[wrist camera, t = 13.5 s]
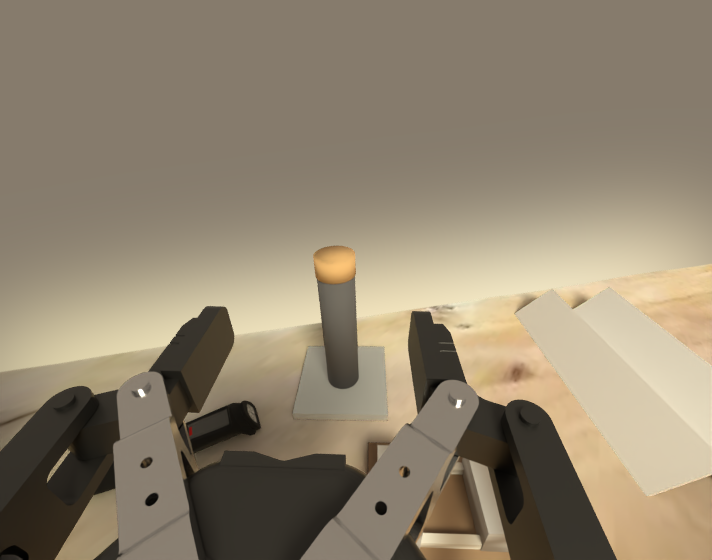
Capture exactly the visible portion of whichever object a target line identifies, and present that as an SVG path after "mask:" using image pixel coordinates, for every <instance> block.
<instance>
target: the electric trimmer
mask: <svg viewBox="0 0 712 560" xmlns="http://www.w3.org/2000/svg"><path fill="white" fill-rule="evenodd" d="M185 424H186V427H187V431H188V435H189V438H190V442H191V446H192V449H193V453H195V452H197V451H200V450H202V449H204V448H207V447H209V446H212V445H214V444H216V443H219V442H221V441H224V440H226V439H228V438H231V437H233V436H235V435H238V434H240V433H243V434H248V435H253V434H255V432H256V430H258V429H260V428H261V426H260V422H259V418H258V415H257V411H256V408H255V406H254V405H253V404H252V403H251V402H248V401H243V402H241V403H232V404H230V405H227V406H225V407H222V408H220V409H218V410H215V411H213V412H211V413H208V414H206V415H204V416H202V417H199V418H197V419H195V420H192V421H190V422H188V423H185ZM115 488H116V486H115V470H114V462H113V463H112V465H111V467H110V468H109V470H108V472H107V473H106V475H105V477H104V478H103V480H102V481H101V483H100V485H99V486H98V488H97V490H96V491H95V493H94V495H96V494H99V493H102V492H105V491H109V490H112V489H115Z"/></svg>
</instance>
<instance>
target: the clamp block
mask: <svg viewBox="0 0 712 560" xmlns="http://www.w3.org/2000/svg"><path fill="white" fill-rule="evenodd" d="M389 445H390V443H368V473H369V472H370V471H371V469H372V468H373V467H374V465H375V464H376V462H377V461H378V460H379V458H380V457H381V456H382V454H383V453H384V452H385V450H386V449H387V447H388V446H389ZM416 544H417V546H418V547H419V549H420V550H421V552H422V553H423V555H424V556H425V558H426V559H427V560H511V559H510V555H509V551H508V547H507V543H506V539H505V535H504V531H503V527H502V523H501V519H500V515H499V511H498V507H497V503H496V499H495V495H494V491H493V487H492V483H491V479H490V475H489V471H488V467H487V466H484V465H482V464H479V463H476V462H474V461H471V460H468V459H465V458H463V457H460V458H459V460H458V462H457V464H456V465H455V467H454V469H453V471H452V473H451V475H450V477H449V479H448V481H447V483H446V484H445V486H444V488H443V490H442V492H441V494H440V496H439V498H438V500H437V502H436V505H435V507H434V509H433V512H432V514H431V516H430V518H429V520H428V522H427V524H426V526H425V528H424V530H423V532H422V533H421V535H420V537H419V539H418V541H417V543H416Z"/></svg>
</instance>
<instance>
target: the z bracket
mask: <svg viewBox="0 0 712 560" xmlns="http://www.w3.org/2000/svg"><path fill="white" fill-rule="evenodd" d="M514 314H515V315H516V317H517V318H518V319H519V321H520V322H521V324H522V325H523V326H524V328H525V329H526V331H527V332H528V333H529V335H530V336H531V337H532V339H533V340H534V342H535V343H536V344H537V346H538V347H539V349H540V350H541V351H542V353H543V354H544V355H545V357H546V358H547V360H548V361H549V362H550V364H551V365H552V367H553V368H554V369H555V371H556V372H557V373H558V375H559V376H560V378H561V379H562V380H563V382H564V383H565V385H566V386H567V387H568V389H569V390H570V391H571V393H572V394H573V396H574V397H575V398H576V400H577V401H578V403H579V404H580V405H581V407H582V408H583V409H584V411H585V412H586V414H587V415H588V416H589V418H590V419H591V421H592V422H593V423H594V425H595V426H596V427H597V429H598V430H599V432H600V433H601V434H602V436H603V437H604V439H605V440H606V441H607V443H608V444H609V445H610V447H611V448H612V450H613V451H614V452H615V454H616V455H617V457H618V458H619V459H620V461H621V462H622V463H623V465H624V466H625V468H626V469H627V470H628V472H629V473H630V475H631V476H632V477H633V479H634V480H635V481H636V483H637V484H638V486H639V487H640V488H641V490H642V491H643V493H644V494H645V495H646V496H653V495H656V494H659V493H662V492H665V491H667V490H670V489H673V488H676V487H679V486H682V485H685V484H687V483H690V482H693V481H696V480H699V479H702V478H704V477H707V476H710V475H712V366H711V365H710V364H709V363H707V362H706V361H705V360H703V359H702V358H701V357H700V356H698V355H697V354H696V353H694V352H693V351H692V350H690V349H689V348H688V347H687V346H685V345H684V344H683V343H681V342H680V341H679V340H678V339H676V338H675V337H674V336H672V335H671V334H670V333H669V332H667V331H666V330H665V329H663V328H662V327H661V326H659V325H658V324H657V323H656V322H654V321H653V320H652V319H650V318H649V317H648V316H647V315H645V314H644V313H643V312H641V311H640V310H639V309H637V308H636V307H635V306H634V305H632V304H631V303H630V302H628V301H627V300H626V299H625V298H623V297H622V296H621V295H619V294H618V293H617V292H615V291H614V290H613V289H612V288H610V287H608V288H607V289H605V290H603V291H602V292H600V293H598V294H597V295H595V296H594V297H592V298H590V299H589V300H587V301H586V302H584V303H582V304H581V305H579V306H578V307H576V308H574V309H572V308H571V307H570V306H569V305H568V304H567V303H566V302H565V301H564V300H563V299H562V298H561V297H560V296H559V295H558V294H557V293H556V292H555V291H554V290H553V289H550V290H549V291H547V292H546V293H544V294H543V295H541V296H540V297H538V298H537V299H535V300H534V301H532V302H531V303H529V304H528V305H526V306H525V307H523V308H522V309H520V310H519V311H517V312H516V313H514Z"/></svg>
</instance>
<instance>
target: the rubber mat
mask: <svg viewBox="0 0 712 560" xmlns="http://www.w3.org/2000/svg"><path fill="white" fill-rule="evenodd" d="M358 370H359V379H358V381H357V383H356V384H355V385H354V386H352V387H350V388H347V389H338V388H335V387H333V386H332V385H331V384H330V383H329V380H328V372H327V363H326V354H325V346H308V350H307V354H306V358H305V362H304V366H303V371H302V375H301V379H300V383H299V388H298V392H297V396H296V400H295V404H294V409H293V413H292V414H293V419H310V420H365V421H388V408H387V389H386V371H385V353H384V347H358Z"/></svg>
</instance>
